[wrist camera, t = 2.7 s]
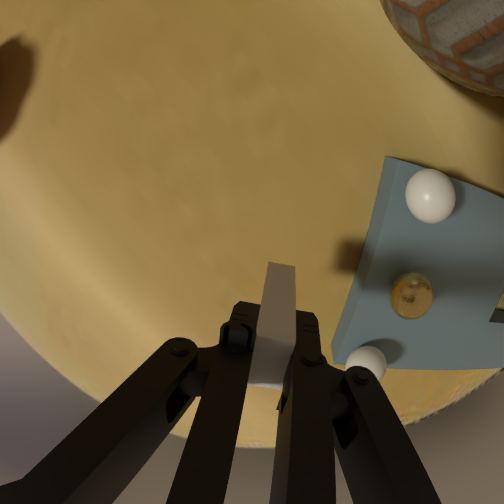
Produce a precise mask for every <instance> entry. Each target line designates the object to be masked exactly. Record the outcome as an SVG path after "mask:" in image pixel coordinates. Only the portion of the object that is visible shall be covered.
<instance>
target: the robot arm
mask: <svg viewBox="0 0 504 504" xmlns="http://www.w3.org/2000/svg"><path fill="white" fill-rule="evenodd" d="M318 327H319V325H318V319H317V318H316V316H315V315H314V313H311V312H305V311H299V310H296V287H295V266H290V265H284V264H278V263H273V262H268V268H267V273H266V279H265V284H264V290H263V295H262V301H261V305H259V304H254V303H248V302H243V301H240V302H238V303H237V304H236V305H235V306H234V307H233V311H232V314H231V317H230V320H229V321H228V322H226V323H224V324H223V325H222V326H221V328H220V338H219V344H217V345H216V346H213V347H207V348H197V346H196V344H195V343H194V342H193V341H191V340H190V339H186V338H180V337H176V338H172V339H169V340H168V341H166V342H165V343H164V344H163V345H162V346H161V347H160V348H159V349H158V350H157V351H155V352H154V353H153V354H152V355H151V356H150V357H149V358H148V359H147V360H146V361H145V362H144V363H143V364H142V365H141V366H140V367H139V368H138V369H137V370H136V371H135V372H134V373H133V374H132V375H130V376H129V377H128V378H127V379H126V380H125V381H124V382H123V383H122V384H121V385H120V386H119V387H118V388H117V389H116V390H115V391H114V392H113V393H112V394H111V395H110V396H109V397H108V398H106V399H105V400H104V401H103V402H102V403H101V404H100V405H99V406H98V407H97V408H96V409H95V410H94V411H93V412H92V413H91V414H90V415H89V416H88V417H87V418H86V419H85V420H83V421H82V422H81V423H80V424H79V425H78V426H77V427H76V428H75V429H74V430H73V431H72V432H71V433H70V434H69V435H68V436H67V437H66V438H65V439H64V440H62V441H61V442H60V443H59V444H58V445H57V446H56V447H55V448H54V449H53V450H52V451H51V452H50V453H49V454H48V455H47V456H46V457H45V458H43V459H42V460H41V461H40V462H39V463H38V464H37V465H36V466H35V467H34V468H33V469H32V470H31V471H30V472H29V473H28V474H26V475H25V476H24V478H22V479H20V480H17V481H14V482H11V483H8V484H5V485H2V486H0V504H112V503H113V502H114V501H115V500H116V498H117V497H118V496H119V495H120V494H121V492H122V491H123V490H124V489H125V488H126V486H127V485H128V484H129V483H130V482H131V480H132V479H133V478H134V477H135V475H136V474H137V473H138V472H139V470H140V469H141V468H142V467H143V465H144V464H145V463H146V462H147V461H148V459H149V458H150V457H151V455H152V454H153V453H154V452H155V450H156V449H157V448H158V447H159V445H160V444H161V443H162V441H163V440H164V439H165V438H166V436H167V435H168V434H169V432H170V431H171V430H172V429H173V427H174V426H175V425H176V423H177V422H178V421H179V419H180V418H181V417H182V415H183V414H184V413H185V411H186V410H187V409H188V407H189V406H190V405H191V403H192V402H193V401H194V399H195V397H198V396H201V399H200V402H199V405H198V408H197V411H196V414H195V417H194V420H193V423H192V426H191V429H190V432H189V435H188V438H187V441H186V444H185V448H184V450H183V453H182V456H181V459H180V463H179V465H178V468H177V471H176V474H175V477H174V480H173V483H172V487H171V489H170V492H169V495H168V499H167V502H166V504H223V503H224V498H225V493H226V489H227V484H228V479H229V475H230V470H231V465H232V460H233V455H234V450H235V445H236V440H237V435H238V430H239V425H240V420H241V415H242V410H243V404H244V399H245V394H246V388H247V384H249V385H255V386H261V387H267V388H273V389H280V390H281V388H282V385H283V391H282V394H281V397H280V400H279V403H278V406H277V409H276V410H279V415H278V426H277V437H276V447H275V457H274V468H273V476H272V485H271V493H270V501H269V504H336V480H335V456H334V447H335V450H336V453H337V456H338V459H339V462H340V465H341V468H342V471H343V474H344V477H345V479H346V483H347V485H348V488H349V491H350V494H351V497H352V500H353V503H354V504H441V502H440V499H439V497H438V495H437V493H436V491H435V489H434V486H433V484H432V482H431V480H430V478H429V476H428V474H427V472H426V470H425V468H424V466H423V464H422V462H421V460H420V458H419V456H418V454H417V452H416V450H415V448H414V446H413V444H412V442H411V440H410V438H409V437H408V435H407V433H406V431H405V429H404V427H403V425H402V423H401V421H400V419H399V418H398V416H397V414H396V412H395V410H394V408H393V406H392V405H391V403H390V401H389V399H388V397H387V395H386V394H385V392H384V390H383V388H382V386H381V385H380V383H379V381H378V379H377V378H376V376H375V374H374V373H373V372H372V371H371V370H369V369H368V368H366V367H363V366H352V367H349V368H348V369H347V370H346V372H345V371H342V370H340V369H337V368H334V367H332V366H331V365H329V364H328V363H327V360H326V358H325V356H324V355H323V354H322V353H321V344H320V334H319V328H318Z"/></svg>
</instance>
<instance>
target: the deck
mask: <svg viewBox="0 0 504 504" xmlns="http://www.w3.org/2000/svg"><path fill="white" fill-rule="evenodd" d="M423 169H427V168H424V167H421V166H418V165H415V164H411V163H408V162H405V161H402V160H398V159H395V158H391V157H387V156H385V160H384V165H383V170H382V175H381V179H380V184H379V189H378V193H377V197H376V201H375V206H374V210H373V214H372V218H371V222H370V225H369V229H368V233H367V237H366V240H365V244H364V247H363V251H362V254H361V258H360V261H359V264H358V268H357V271H356V274H355V277H354V280H353V284H352V287H351V290H350V293H349V296H348V299H347V302H346V305H345V307H344V310H343V313H342V316H341V319H340V322H339V324H338V327H337V330H336V332H335V335H334V338H333V340H332V343H331V347H332V354H333V362H334V364H342V365H346V362H347V359H348V357H349V355H350V354H351V353H352V352H353V351H354V350H356V349H357V348H359V347H362V346H373V347H376V348H378V349H379V350H380V351H381V352H382V353H383V354H384V356H385V358H386V363H387V367H386V368H394V369H420V370H467V369H491V368H504V311H501V310H495V308H496V306H497V304H498V302H499V299H500V297H501V295H502V293H503V291H504V199H503V198H501V197H499V196H497V195H495V194H492V193H490V192H488V191H485V190H483V189H481V188H478V187H476V186H473V185H471V184H468V183H466V182H463V181H461V180H458V179H455V178H453V177H450V176H447V175H446V176H447V177H448V178H449V179H450V181H451V182H452V184H453V186H454V189H455V195H456V201H455V206H454V209H453V211H452V213H451V214H450V215H449V216H448V217H447V218H446V219H445V220H443V221H441V222H439V223H434V224H430V223H425V222H422V221H420V220H419V219H417V218H416V217H415V216H414V215H413V214H412V213H411V212H410V210H409V208H408V206H407V203H406V198H405V191H406V186H407V183H408V181H409V179H410V178H411V177H412V176H413V175H414V174H415V173H416V172H418V171H420V170H423ZM409 271H416V272H420V273H422V274H424V275H425V276H427V277H428V278H429V280H430V281H431V283H432V285H433V288H434V301H433V304H432V307H431V308H430V310H429V311H428V312H427V313H426V314H425V315H424V316H423V317H421V318H419V319H415V320H406V319H403V318H401V317H399V316H398V315H397V314H396V313H395V312H394V311H393V310H392V308H391V306H390V302H389V291H390V288H391V285H392V283H393V282H394V280H395V279H396V278H397V277H398V276H400V275H401V274H403V273H405V272H409Z"/></svg>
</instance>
